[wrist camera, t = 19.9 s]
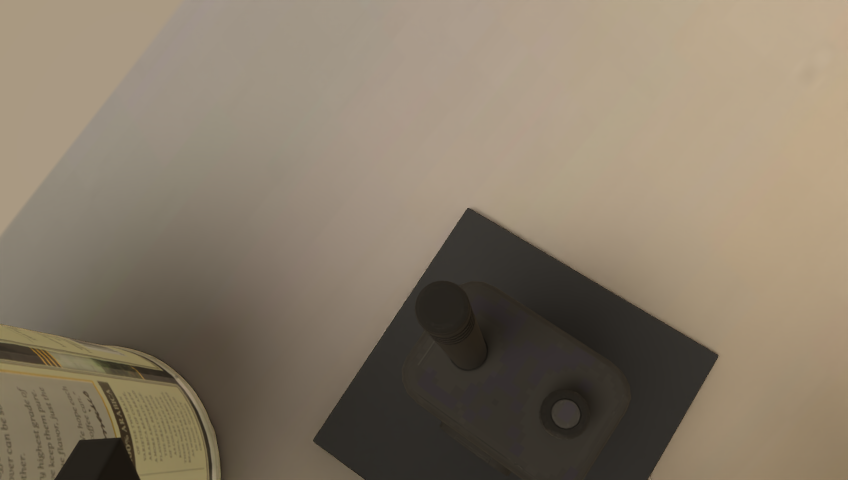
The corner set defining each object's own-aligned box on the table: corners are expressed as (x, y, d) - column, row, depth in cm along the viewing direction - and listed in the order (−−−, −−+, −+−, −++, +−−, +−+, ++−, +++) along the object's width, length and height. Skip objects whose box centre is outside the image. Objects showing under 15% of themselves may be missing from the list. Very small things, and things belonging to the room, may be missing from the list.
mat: (315, 440, 25) (311, 440, 25) (468, 210, 26) (467, 206, 26) (562, 623, 22) (563, 626, 22) (715, 356, 24) (719, 355, 24)
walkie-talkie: (598, 401, 24) (722, 351, 9) (544, 488, 23) (584, 575, 9) (479, 321, 25) (426, 168, 11) (424, 402, 24) (290, 356, 10)
